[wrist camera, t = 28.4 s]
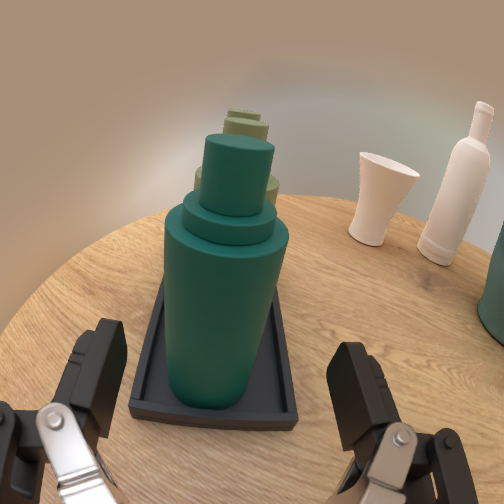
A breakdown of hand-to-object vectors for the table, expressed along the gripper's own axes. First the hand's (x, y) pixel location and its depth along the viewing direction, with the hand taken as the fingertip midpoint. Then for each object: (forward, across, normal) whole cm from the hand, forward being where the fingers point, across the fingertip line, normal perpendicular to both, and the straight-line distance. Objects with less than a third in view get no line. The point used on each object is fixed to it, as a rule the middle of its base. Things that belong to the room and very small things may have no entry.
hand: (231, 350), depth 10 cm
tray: (+14, 0, +12) cm, 18 cm away
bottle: (+33, -39, +12) cm, 52 cm away
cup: (+35, -24, +12) cm, 44 cm away
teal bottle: (+6, 0, +11) cm, 13 cm away
